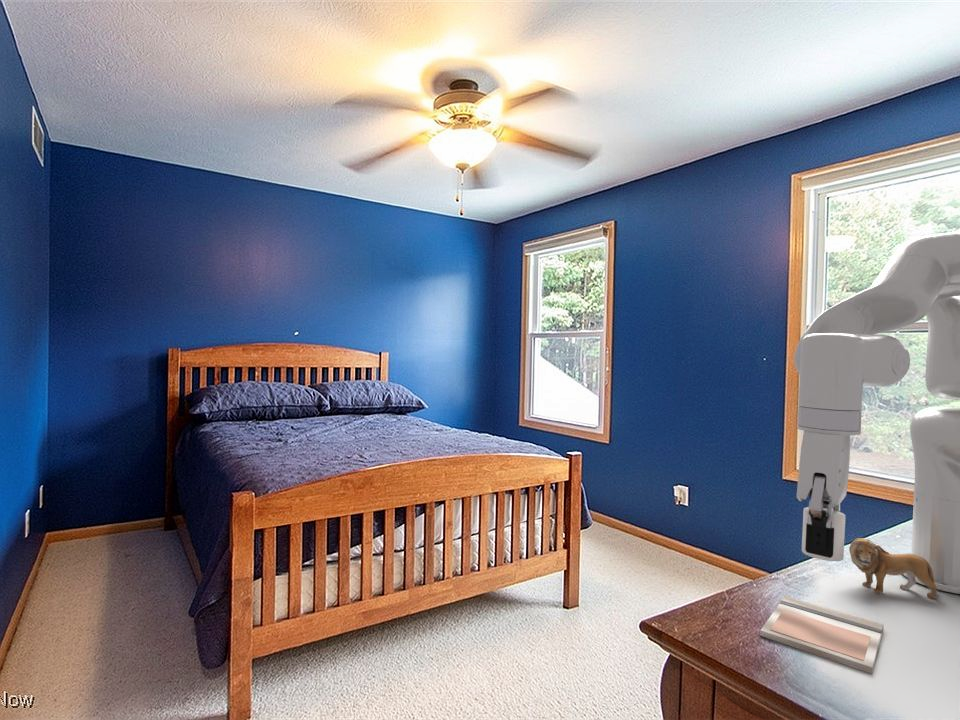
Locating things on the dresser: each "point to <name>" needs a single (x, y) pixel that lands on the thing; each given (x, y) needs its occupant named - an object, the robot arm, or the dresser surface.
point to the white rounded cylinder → (839, 535)
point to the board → (825, 633)
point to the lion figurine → (890, 566)
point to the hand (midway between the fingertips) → (822, 547)
